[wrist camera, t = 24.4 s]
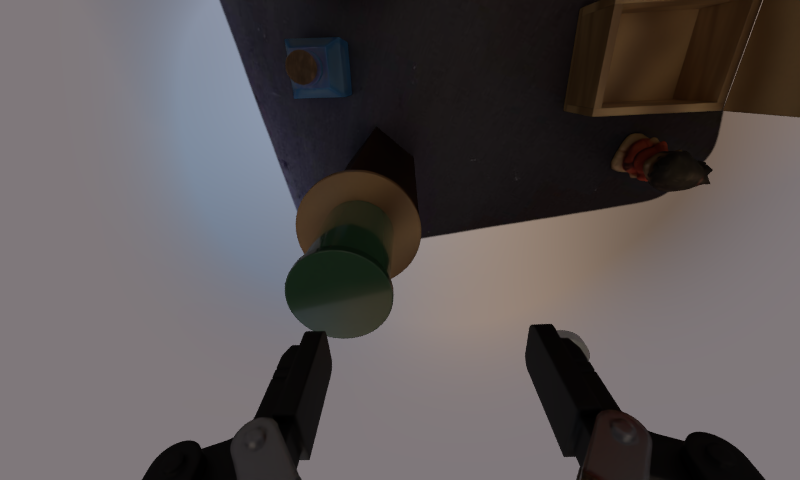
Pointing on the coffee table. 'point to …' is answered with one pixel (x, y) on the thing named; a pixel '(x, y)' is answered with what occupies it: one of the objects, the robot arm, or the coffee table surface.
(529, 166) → the coffee table surface
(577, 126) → the coffee table surface
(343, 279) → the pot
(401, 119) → the coffee table surface
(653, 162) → the figurine
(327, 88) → the perfume bottle
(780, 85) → the lid
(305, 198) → the tall pedestal column
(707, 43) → the chest
